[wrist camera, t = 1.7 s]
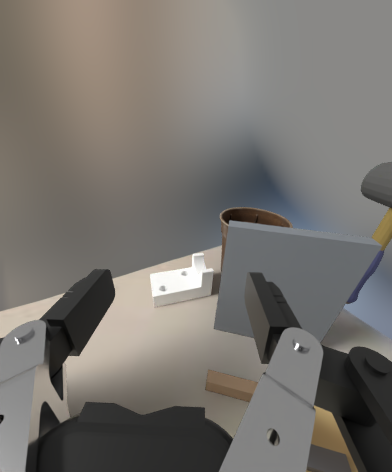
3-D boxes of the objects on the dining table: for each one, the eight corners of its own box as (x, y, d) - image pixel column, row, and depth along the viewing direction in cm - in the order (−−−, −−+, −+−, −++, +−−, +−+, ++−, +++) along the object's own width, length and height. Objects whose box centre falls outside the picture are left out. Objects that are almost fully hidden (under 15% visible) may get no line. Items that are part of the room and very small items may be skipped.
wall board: (341, 427, 24) (475, 316, 13) (205, 389, 26) (222, 273, 16) (311, 340, 34) (371, 237, 23) (214, 319, 37) (229, 220, 26)
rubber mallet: (382, 322, 38) (509, 172, 23) (350, 324, 37) (459, 170, 23) (337, 280, 49) (404, 160, 34) (311, 281, 48) (368, 159, 33)
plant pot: (243, 250, 60) (252, 203, 52) (287, 279, 48) (308, 225, 40) (202, 265, 52) (206, 212, 44) (242, 304, 40) (258, 242, 33)
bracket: (200, 276, 48) (202, 252, 45) (210, 296, 42) (213, 271, 39) (151, 285, 45) (148, 260, 41) (154, 308, 39) (151, 282, 35)
